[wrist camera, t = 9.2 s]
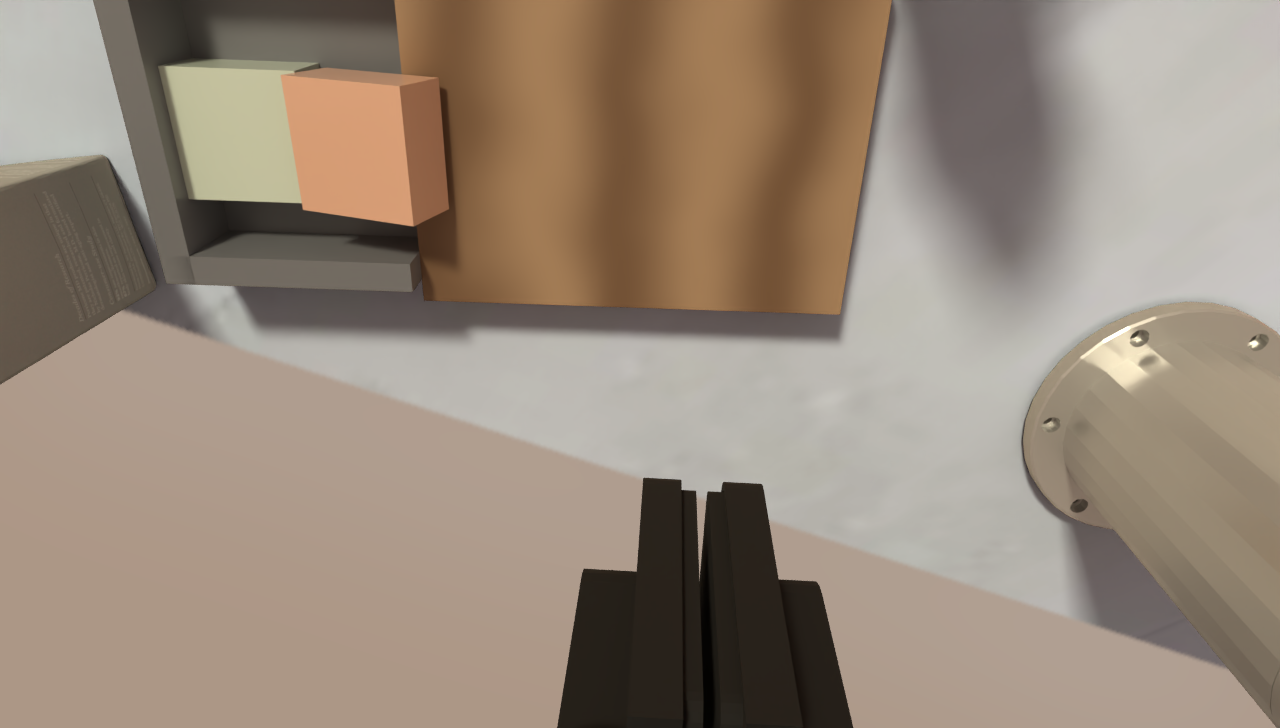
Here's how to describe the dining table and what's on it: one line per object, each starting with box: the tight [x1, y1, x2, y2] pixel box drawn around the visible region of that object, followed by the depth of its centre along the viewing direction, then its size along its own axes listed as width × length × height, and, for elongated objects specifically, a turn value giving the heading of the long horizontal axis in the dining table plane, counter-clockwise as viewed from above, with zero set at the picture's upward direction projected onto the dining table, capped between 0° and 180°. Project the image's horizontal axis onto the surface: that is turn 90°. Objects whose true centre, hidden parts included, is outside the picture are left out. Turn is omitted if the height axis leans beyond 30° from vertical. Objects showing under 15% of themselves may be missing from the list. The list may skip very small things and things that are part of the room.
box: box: [93, 0, 422, 292], centre depth 31 cm, size 10×14×4 cm
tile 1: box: [158, 58, 320, 203], centre depth 31 cm, size 5×5×2 cm
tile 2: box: [281, 68, 449, 226], centre depth 30 cm, size 5×5×2 cm
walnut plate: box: [394, 0, 892, 315], centre depth 32 cm, size 18×14×2 cm
